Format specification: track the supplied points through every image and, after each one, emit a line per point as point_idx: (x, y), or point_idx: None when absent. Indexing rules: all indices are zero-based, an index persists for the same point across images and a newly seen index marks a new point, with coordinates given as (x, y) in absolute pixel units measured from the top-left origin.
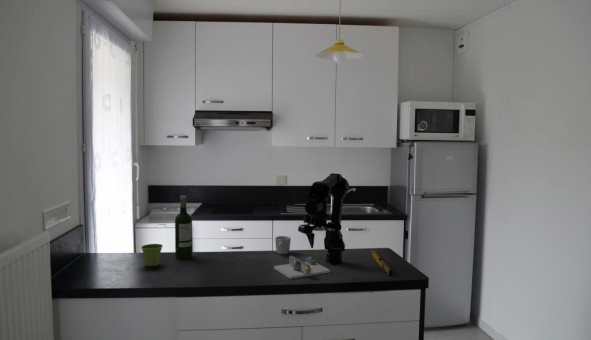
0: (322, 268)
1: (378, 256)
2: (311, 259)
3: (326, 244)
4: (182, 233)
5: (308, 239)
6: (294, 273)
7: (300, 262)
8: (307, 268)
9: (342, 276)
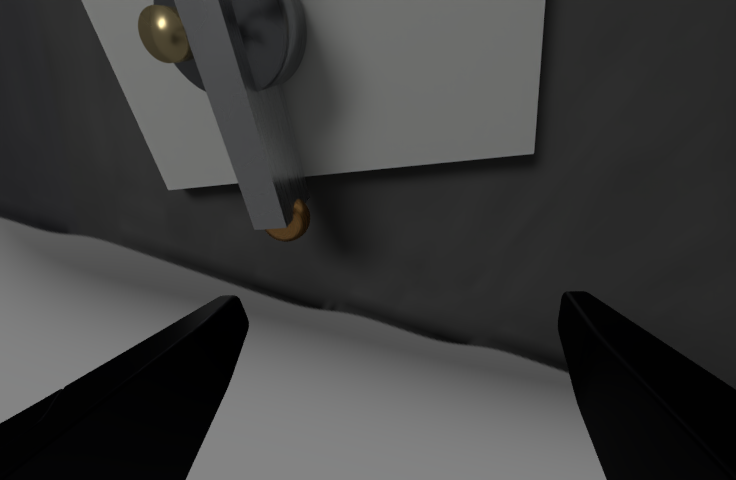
0: (492, 74)
1: None
2: None
3: (570, 316)
4: None
5: (41, 413)
6: (202, 133)
7: (213, 111)
8: (269, 234)
9: (555, 260)
